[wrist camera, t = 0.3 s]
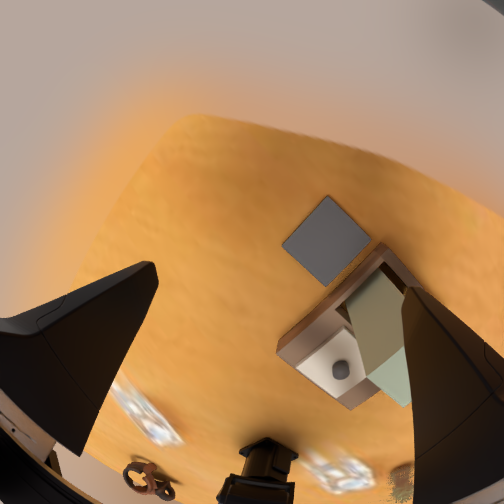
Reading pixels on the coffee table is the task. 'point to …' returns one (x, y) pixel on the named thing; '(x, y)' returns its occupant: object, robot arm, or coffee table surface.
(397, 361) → the sage block
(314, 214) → the charcoal mat
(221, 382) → the coffee table surface
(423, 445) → the robot arm
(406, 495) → the sea urchin
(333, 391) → the brown sliding lid box
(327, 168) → the coffee table surface
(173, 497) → the dark brown lobed piece
